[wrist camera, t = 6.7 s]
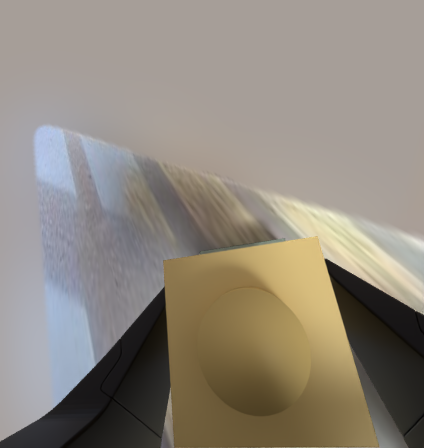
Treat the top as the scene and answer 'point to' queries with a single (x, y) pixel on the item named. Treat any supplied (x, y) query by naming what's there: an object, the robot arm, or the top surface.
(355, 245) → the top surface
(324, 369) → the tower brick
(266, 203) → the top surface
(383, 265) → the top surface
